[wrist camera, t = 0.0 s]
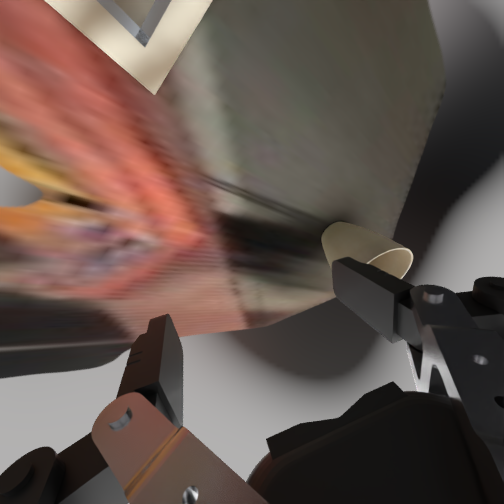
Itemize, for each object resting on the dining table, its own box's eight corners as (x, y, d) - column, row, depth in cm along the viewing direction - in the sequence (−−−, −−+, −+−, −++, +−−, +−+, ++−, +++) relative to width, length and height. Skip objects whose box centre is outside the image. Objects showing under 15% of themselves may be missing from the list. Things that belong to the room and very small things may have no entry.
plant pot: (368, 226, 61) (419, 267, 49) (324, 264, 65) (362, 309, 53) (346, 194, 51) (403, 235, 40) (296, 240, 55) (335, 289, 44)
